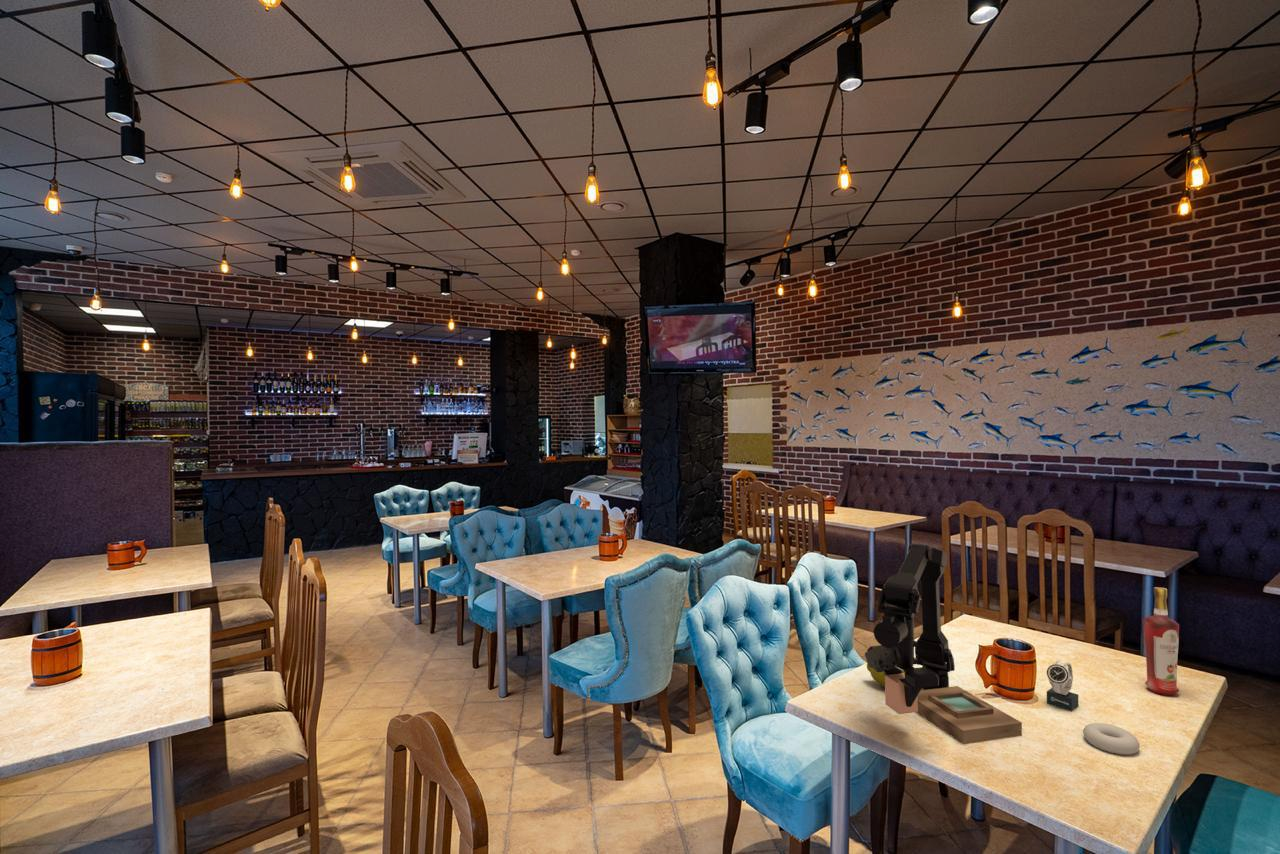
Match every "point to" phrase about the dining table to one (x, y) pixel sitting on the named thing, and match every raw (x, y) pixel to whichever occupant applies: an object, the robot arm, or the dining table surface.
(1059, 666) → the watch
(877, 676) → the lemon
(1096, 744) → the donut
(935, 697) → the brown flat frame
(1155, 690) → the liquor
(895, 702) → the terracotta block
